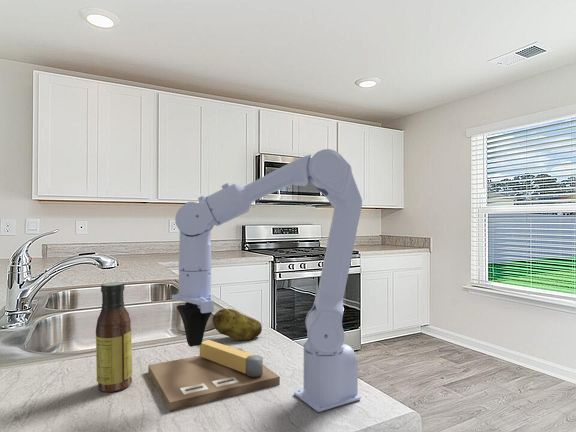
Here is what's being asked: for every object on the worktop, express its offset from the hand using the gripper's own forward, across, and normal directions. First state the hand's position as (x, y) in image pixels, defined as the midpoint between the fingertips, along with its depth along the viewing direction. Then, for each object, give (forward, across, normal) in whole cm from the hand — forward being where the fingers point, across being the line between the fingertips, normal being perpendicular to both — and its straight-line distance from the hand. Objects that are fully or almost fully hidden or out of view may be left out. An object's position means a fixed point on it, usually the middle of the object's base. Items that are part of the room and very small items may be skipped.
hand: (194, 344), depth 68 cm
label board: (+9, -6, +6) cm, 13 cm away
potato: (+10, -28, +20) cm, 36 cm away
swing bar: (+7, -7, +10) cm, 14 cm away
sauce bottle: (+10, -12, -12) cm, 19 cm away
